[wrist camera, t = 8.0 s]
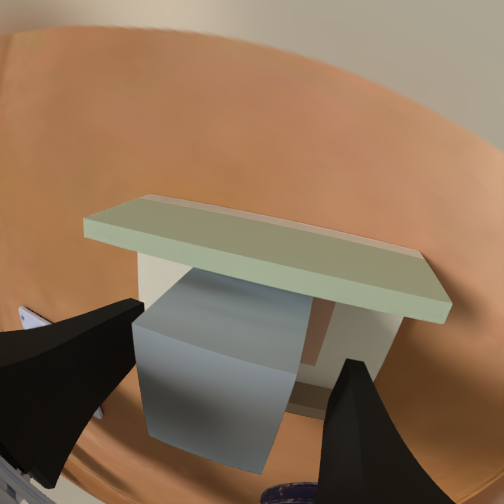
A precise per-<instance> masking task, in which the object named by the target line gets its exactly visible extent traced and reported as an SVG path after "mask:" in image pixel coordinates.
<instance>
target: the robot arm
mask: <svg viewBox="0 0 504 504" xmlns="http://www.w3.org/2000/svg"><path fill="white" fill-rule="evenodd" d="M18 310H19V314H20V318H21V321H22V325H23V328H24V330H16V331H8V332H0V504H20V502H21V501H22V500H23V499H25V500H26V501H27V502H28V503H29V504H56V503H55V502H53V501H52V500H50V498H48V497H47V496H46V495H44V494H43V493H42V492H41V491H39V490H38V489H37V488H36V487H34V486H33V485H32V484H31V483H30V476H31V477H32V478H33V479H34V480H36V481H37V482H38V483H39V484H41V485H42V486H43V487H44V488H46V489H52V488H55V485H56V483H57V480H58V478H59V476H60V473H61V471H62V469H63V467H64V464H65V462H66V460H67V458H68V456H69V455H70V453H71V451H72V449H73V447H74V445H75V443H76V442H77V440H78V438H79V437H80V435H81V433H82V431H83V430H84V428H85V427H86V425H87V424H88V422H89V421H90V419H91V418H92V416H95V417H96V418H98V419H101V418H102V417H103V414H102V411H101V408H100V405H101V404H102V403H103V402H104V400H105V399H106V398H107V397H108V396H109V395H110V394H111V392H112V391H113V390H114V389H115V388H116V387H117V386H118V384H119V383H120V382H121V381H122V380H123V379H124V378H125V376H126V375H127V374H128V373H129V372H130V371H131V369H132V368H133V367H134V366H135V364H136V357H135V349H134V341H133V331H132V323H133V322H134V321H135V320H136V319H137V318H138V317H139V316H140V315H141V314H142V313H143V312H144V311H145V307H144V302H141V301H138V300H135V299H132V298H129V299H125V300H122V301H119V302H116V303H113V304H110V305H107V306H105V307H102V308H99V309H96V310H93V311H91V312H88V313H85V314H82V315H79V316H76V317H73V318H69V319H66V320H63V321H60V322H57V323H53V324H52V323H50V322H48V321H46V320H45V319H43V318H41V317H40V316H38V315H36V314H35V313H33V312H31V311H30V310H28V309H26V308H25V307H23V306H21V307H19V309H18ZM313 504H456V503H455V502H453V501H452V500H451V499H450V498H449V497H448V496H447V495H446V494H445V493H444V492H443V491H442V490H441V489H440V488H439V487H438V485H437V484H436V483H435V482H434V481H433V480H432V479H431V478H430V476H429V475H428V474H427V473H426V472H425V470H424V469H423V468H422V467H421V465H420V464H419V463H418V462H417V460H416V459H415V458H414V456H413V455H412V453H411V452H410V450H409V449H408V447H407V446H406V444H405V443H404V441H403V440H402V438H401V436H400V435H399V433H398V431H397V429H396V428H395V426H394V424H393V422H392V420H391V419H390V417H389V415H388V413H387V411H386V409H385V407H384V405H383V403H382V401H381V398H380V396H379V394H378V392H377V390H376V388H375V385H374V383H373V381H372V379H371V376H370V374H369V372H368V369H367V367H366V365H365V363H364V361H359V360H354V359H349V358H346V360H345V362H344V365H343V367H342V369H341V372H340V374H339V376H338V379H337V381H336V383H335V386H334V388H333V390H332V392H331V395H330V397H329V399H328V404H327V409H326V414H325V420H324V425H323V437H322V449H321V460H320V470H319V479H318V485H317V491H316V495H315V499H314V503H313Z"/></svg>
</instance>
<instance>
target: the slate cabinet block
mask: <svg viewBox="0 0 504 504" xmlns="http://www.w3.org/2000/svg"><path fill="white" fill-rule="evenodd" d="M312 301H313V296H309V295H305V294H300V293H296V292H292V291H288V290H284V289H279V288H275V287H271V286H267V285H263V284H259V283H255V282H251V281H247V280H243V279H239V278H235V277H231V276H227V275H223V274H219V273H215V272H211V271H207V270H203V269H199V268H195V267H193V268H192V269H191V270H189V271H188V272H187V273H186V274H185V275H184V276H183V277H182V278H181V279H179V280H178V281H177V282H176V283H175V284H174V285H173V286H172V287H171V288H170V289H168V290H167V291H166V292H165V293H164V294H163V295H162V296H161V297H160V298H159V299H158V300H156V301H155V302H154V303H153V304H152V305H151V306H150V307H149V308H148V309H147V310H146V311H144V312H143V313H142V314H141V315H140V316H139V317H138V318H137V319H136V320H135V321H134V322H133V323H132V331H133V341H134V349H135V357H136V365H137V372H138V379H139V386H140V392H141V398H142V404H143V409H144V415H145V420H146V425H147V430H148V435H149V436H151V437H153V438H155V439H157V440H160V441H162V442H164V443H167V444H169V445H172V446H174V447H177V448H179V449H182V450H184V451H187V452H189V453H192V454H195V455H198V456H200V457H203V458H206V459H209V460H212V461H215V462H218V463H221V464H224V465H227V466H231V467H234V468H237V469H241V470H244V471H248V472H252V473H256V474H259V475H261V473H262V471H263V468H264V466H265V463H266V461H267V458H268V456H269V453H270V450H271V448H272V445H273V443H274V440H275V437H276V434H277V432H278V429H279V426H280V423H281V421H282V418H283V415H284V412H285V409H286V406H287V404H288V401H289V398H290V395H291V392H292V389H293V386H294V383H295V380H296V377H297V373H298V369H299V364H300V360H301V355H302V350H303V346H304V341H305V336H306V331H307V326H308V321H309V316H310V311H311V306H312Z"/></svg>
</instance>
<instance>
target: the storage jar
mask: <svg viewBox="0 0 504 504" xmlns="http://www.w3.org/2000/svg"><path fill="white" fill-rule="evenodd" d="M317 485H318V483H304V482H303V483H288V484H281V485H277V486H273V487H271V488H268V489H267V490H265V491H264V492H263V494H262V496H261V500H260V503H261V504H313V503H314V499H315V495H316V491H317Z"/></svg>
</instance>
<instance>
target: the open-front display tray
mask: <svg viewBox="0 0 504 504" xmlns="http://www.w3.org/2000/svg"><path fill="white" fill-rule="evenodd" d="M83 222H84V237H86V238H90V239H93V240H97V241H100V242H104V243H107V244H111V245H114V246H118V247H121V248H125V249H128V250H132V251H136V252H138V285H139V301H141V302H144V307H145V311H146V310H147V309H148V308H149V307H150V306H151V305H152V304H153V303H154V302H155V301H156V300H158V299H159V298H160V297H161V296H162V295H163V294H164V293H165V292H166V291H167V290H168V289H170V288H171V287H172V286H173V285H174V284H175V283H176V282H177V281H178V280H179V279H181V278H182V277H183V276H184V275H185V274H186V273H187V272H188V271H189V270H191V269H192V268H193V267H195V268H199V269H203V270H207V271H211V272H215V273H219V274H223V275H227V276H231V277H235V278H239V279H243V280H247V281H251V282H255V283H259V284H263V285H267V286H271V287H275V288H279V289H284V290H288V291H292V292H296V293H300V294H305V295H309V296H313V301H312V306H311V311H310V316H309V321H308V326H307V331H306V336H305V341H304V346H303V350H302V355H301V360H300V364H299V369H298V373H297V377H296V380H295V383H294V386H293V389H292V392H291V395H290V398H289V401H288V404H287V406H286V409H285V412H289V413H293V414H298V415H302V416H307V417H311V418H316V419H321V420H325V414H326V409H327V404H328V399H329V397H330V395H331V392H332V390H333V388H334V386H335V383H336V381H337V379H338V376H339V374H340V372H341V369H342V367H343V365H344V362H345V360H346V358H349V359H354V360H359V361H364V363H365V365H366V367H367V369H368V372H369V374H370V376H371V379H372V381H373V382H374V380H375V378H376V376H377V374H378V372H379V370H380V368H381V366H382V364H383V362H384V360H385V358H386V356H387V354H388V351H389V349H390V347H391V345H392V343H393V340H394V338H395V336H396V334H397V331H398V329H399V327H400V324H401V322H402V320H403V317H409V318H414V319H419V320H424V321H429V322H434V323H439V324H444V322H445V320H446V318H447V316H448V314H449V311H450V309H451V307H452V304H453V303H452V302H451V300H450V298H449V297H448V295H447V293H446V292H445V290H444V288H443V287H442V285H441V284H440V282H439V280H438V279H437V277H436V276H435V274H434V273H433V271H432V269H431V268H430V266H429V265H428V263H427V262H426V260H425V259H424V257H423V256H422V254H421V253H420V251H418V250H414V249H410V248H406V247H402V246H398V245H394V244H390V243H386V242H382V241H378V240H374V239H370V238H366V237H361V236H357V235H353V234H349V233H344V232H340V231H336V230H331V229H327V228H322V227H318V226H313V225H309V224H304V223H299V222H295V221H290V220H285V219H281V218H276V217H271V216H266V215H261V214H256V213H251V212H246V211H241V210H236V209H231V208H226V207H221V206H216V205H210V204H205V203H199V202H194V201H189V200H183V199H177V198H172V197H166V196H160V195H154V194H149V195H146V196H143V197H140V198H137V199H134V200H131V201H128V202H125V203H123V204H120V205H117V206H114V207H111V208H109V209H106V210H103V211H101V212H98V213H95V214H93V215H90V216H87V217H85V218H83Z"/></svg>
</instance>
